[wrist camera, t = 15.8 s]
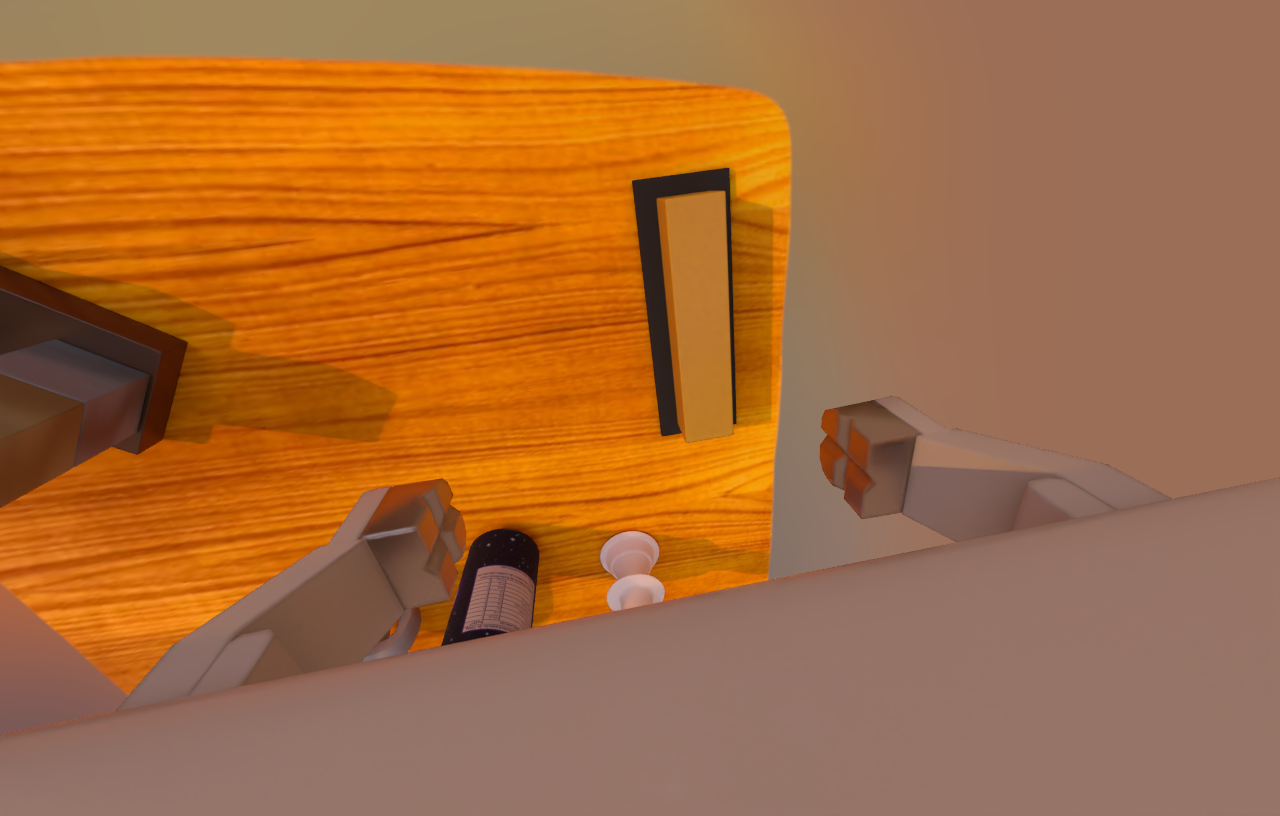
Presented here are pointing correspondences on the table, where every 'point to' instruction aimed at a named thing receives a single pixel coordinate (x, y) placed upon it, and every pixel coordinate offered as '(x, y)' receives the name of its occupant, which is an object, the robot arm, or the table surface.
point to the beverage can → (495, 587)
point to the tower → (75, 383)
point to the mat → (654, 277)
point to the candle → (631, 570)
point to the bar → (698, 310)
